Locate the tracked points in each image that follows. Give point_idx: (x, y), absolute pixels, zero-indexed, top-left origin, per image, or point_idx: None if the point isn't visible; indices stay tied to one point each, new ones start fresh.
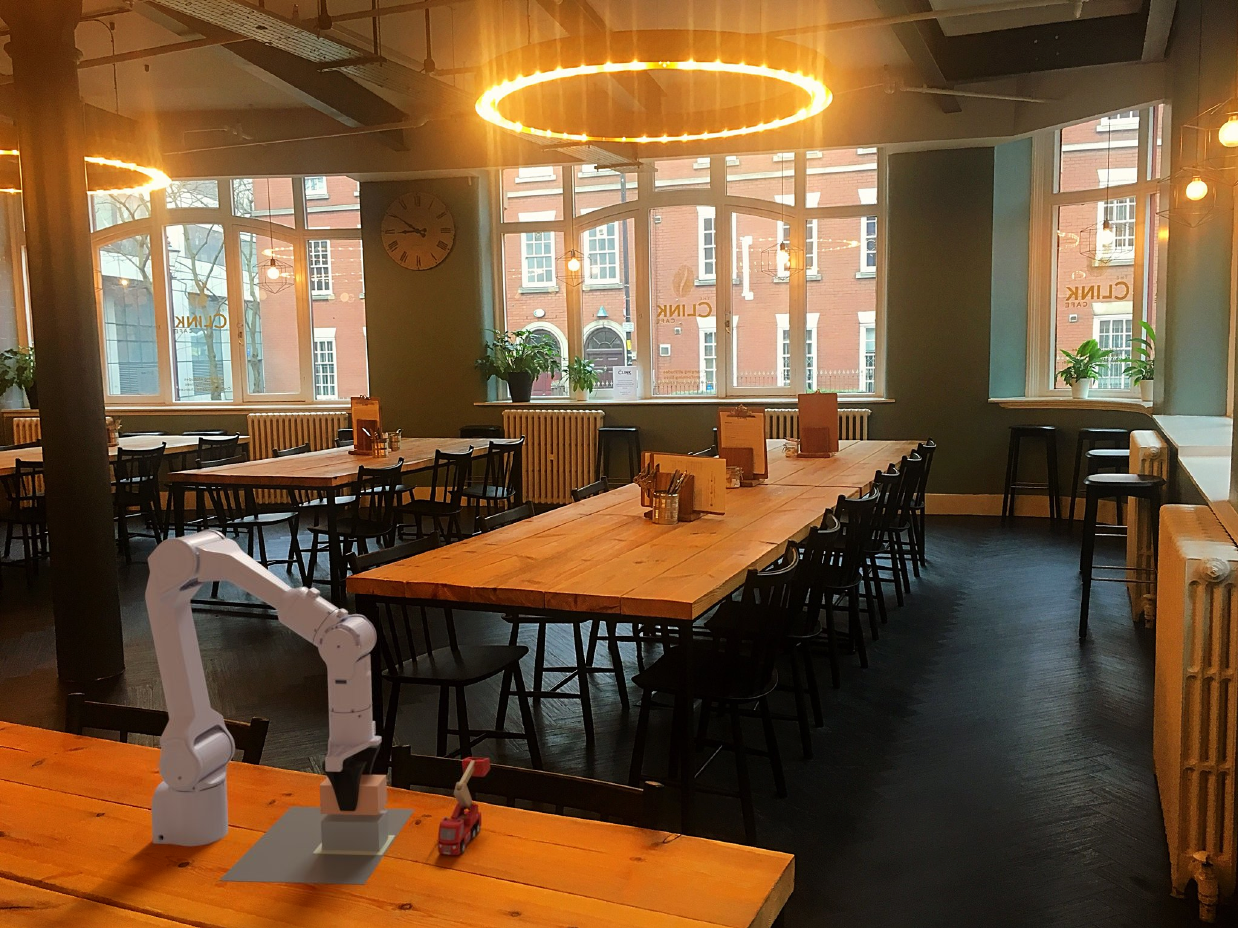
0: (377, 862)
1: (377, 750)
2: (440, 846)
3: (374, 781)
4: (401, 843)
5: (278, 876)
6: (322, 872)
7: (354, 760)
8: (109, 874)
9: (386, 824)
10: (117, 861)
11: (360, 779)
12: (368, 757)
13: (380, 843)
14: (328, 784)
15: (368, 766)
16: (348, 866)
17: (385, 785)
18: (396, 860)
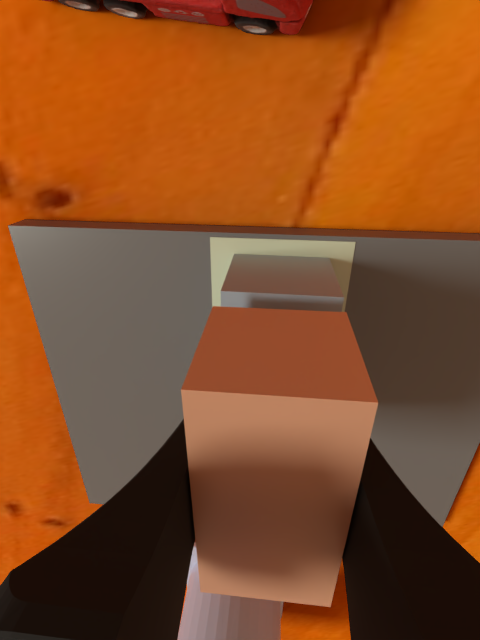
0: (409, 242)
1: (94, 598)
2: (308, 10)
3: (294, 431)
4: (208, 212)
5: (444, 455)
6: (446, 374)
7: (170, 608)
8: (344, 631)
9: (244, 273)
10: (302, 632)
11: (376, 520)
12: (155, 583)
13: (317, 263)
14: (322, 586)
15: (173, 517)
16: (420, 320)
17: (215, 356)
18: (327, 195)
